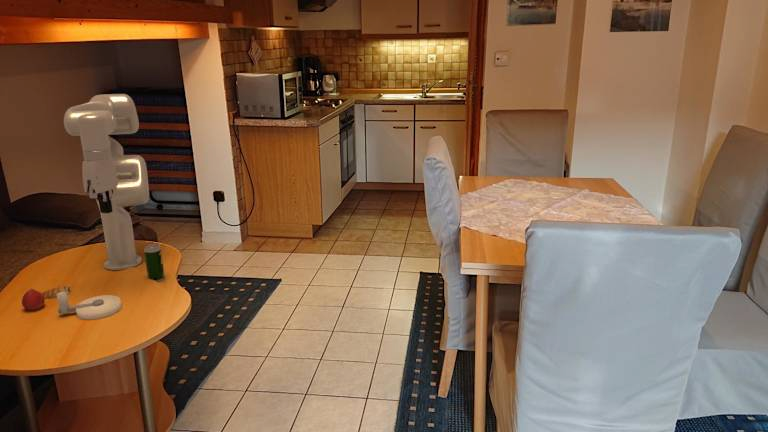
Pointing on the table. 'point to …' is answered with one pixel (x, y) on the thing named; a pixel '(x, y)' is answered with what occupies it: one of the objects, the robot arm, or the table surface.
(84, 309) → the dial
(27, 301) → the onion
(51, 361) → the table surface
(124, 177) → the robot arm
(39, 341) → the table surface
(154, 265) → the beer can
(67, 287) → the pastry
